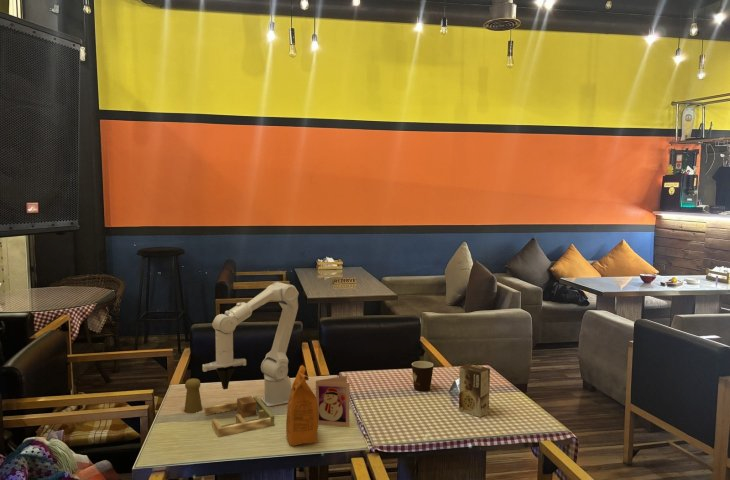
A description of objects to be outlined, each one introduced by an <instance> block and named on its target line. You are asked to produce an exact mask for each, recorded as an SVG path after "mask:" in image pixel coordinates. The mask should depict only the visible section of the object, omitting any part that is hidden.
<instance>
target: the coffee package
mask: <svg viewBox="0 0 730 480" xmlns="http://www.w3.org/2000/svg"><path fill="white" fill-rule="evenodd" d="M306 370H307V368H306V367H305V366H304V365H303V364H302V365H300V366H299V369H298V371H297V374H296V375H295V378H294V380H293V383H292V384H291V394H290V398H289V402H288V403H287V407H286V410H287V411H286V421H285V422H286V425H285V426H286V427H285V434H286V436H285V437H286V438H287V441H288V443H289V446H291V447H292V446H293V447H294V446H297V445H301V444H312V443H316V442H317V441H318V428H319V425H318V421H319V420H318V407H317V400H316V394H314V392H313V390H312V388H310V386H309V385H308V383H307V382H306V381H309V380H310V378H309V376H307V375H305V373H306Z"/></svg>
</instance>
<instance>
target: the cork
mask: <svg viewBox="0 0 730 480" xmlns="http://www.w3.org/2000/svg"><path fill="white" fill-rule="evenodd" d="M184 387H185V389H186V392H185V393H186V394H185V402H184V412H185V413H187V414H197V413H199V411H200V412H201V411H202V410H203V405H202V399H201V393H200V392H201V391H200V388H201V380H200V379H198V378H188V379H187V380H186V382H185V383H184ZM196 412H197V413H196Z"/></svg>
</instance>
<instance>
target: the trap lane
mask: <svg viewBox="0 0 730 480" xmlns="http://www.w3.org/2000/svg"><path fill="white" fill-rule="evenodd" d="M252 398H253V399H254V400H255V401H256V411H257V412H258V418H254V419H249V420H245V419H244V418H242V417H241V415H240V414H235V416H234V417H235V422H234V423H228V424H223V425H221V424H220V423H219V421H218V420H217V418H212V419H211V422H212V424H211V425H212V426H211V427H212V428H214V429H213V430H214V432H215V434H216V435H217V437H224V436H229V435H235V434H239V433H244V432H249V431H253V430H254V431H255V430H258V429H259V430H260V429H263V428H269V427H274V426H275V415H274V414H273V413H272V412H271V411H270V409H269V408H267V406H266V404H265V403H264V402H263V401H262V400H261V399H260V398H259V397H258V395H257V396H255V395H254V396H252ZM236 409H237V401H232V402H227V403H221V404H217V405H211V406H205V407H204V415H205V416H210V415H211V416H212V415H215V414H214V413H216V414H221V413H220V412H222V413H226V412H225V411H227V412H232V411H231V410H233V411H237V410H236Z"/></svg>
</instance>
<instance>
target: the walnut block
mask: <svg viewBox="0 0 730 480" xmlns="http://www.w3.org/2000/svg"><path fill="white" fill-rule="evenodd" d="M236 402H237V410H236V411H237V413H239V414H240V415H241V417H242V418H243V419H246V418H251V417H256V416H257V409H256V401H255V400H254V399H253V396H252V395H249V396H244V397H239V398H237V401H236Z"/></svg>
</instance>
